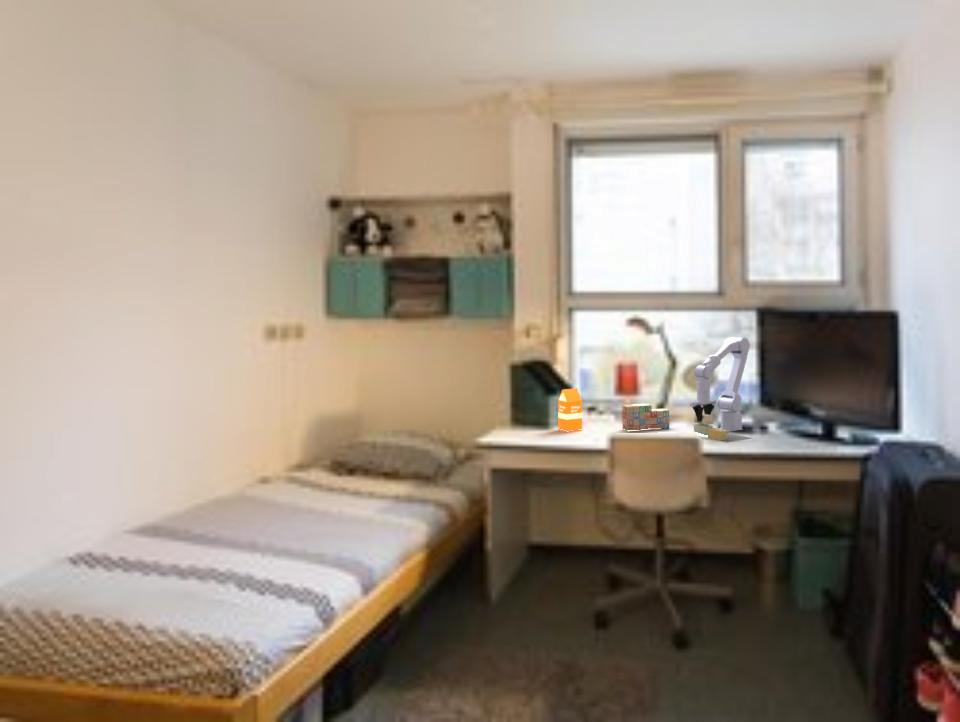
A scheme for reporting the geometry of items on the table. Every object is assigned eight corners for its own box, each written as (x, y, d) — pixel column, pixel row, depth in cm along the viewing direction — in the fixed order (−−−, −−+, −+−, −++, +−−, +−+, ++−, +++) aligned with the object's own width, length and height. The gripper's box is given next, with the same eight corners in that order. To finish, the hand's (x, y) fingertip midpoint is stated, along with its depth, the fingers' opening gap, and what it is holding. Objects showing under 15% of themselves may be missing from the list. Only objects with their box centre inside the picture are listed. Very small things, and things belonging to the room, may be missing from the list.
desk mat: (710, 430, 417) (710, 429, 417) (753, 439, 394) (753, 438, 394) (684, 434, 409) (684, 433, 409) (727, 443, 386) (727, 442, 386)
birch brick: (694, 422, 409) (694, 413, 408) (700, 421, 411) (700, 413, 410) (706, 424, 402) (706, 416, 401) (713, 424, 404) (713, 415, 403)
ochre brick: (707, 437, 398) (707, 428, 397) (714, 436, 400) (714, 427, 399) (720, 440, 391) (720, 431, 390) (727, 439, 393) (727, 430, 392)
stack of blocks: (664, 427, 429) (664, 402, 427) (669, 429, 423) (669, 403, 421) (622, 429, 424) (622, 404, 423) (627, 432, 418) (627, 406, 417)
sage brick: (693, 432, 409) (693, 424, 409) (700, 431, 411) (700, 423, 411) (706, 435, 403) (706, 426, 402) (712, 434, 405) (712, 425, 404)
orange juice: (558, 429, 428) (557, 388, 426) (573, 427, 432) (572, 387, 430) (567, 432, 421) (566, 390, 419) (582, 430, 425) (582, 389, 423)
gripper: (697, 393, 398) (697, 423, 399) (721, 391, 405) (721, 420, 406) (686, 392, 404) (686, 421, 405) (710, 389, 411) (710, 418, 413)
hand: (703, 420), depth 406 cm, fingers closed on birch brick, 4 cm apart
